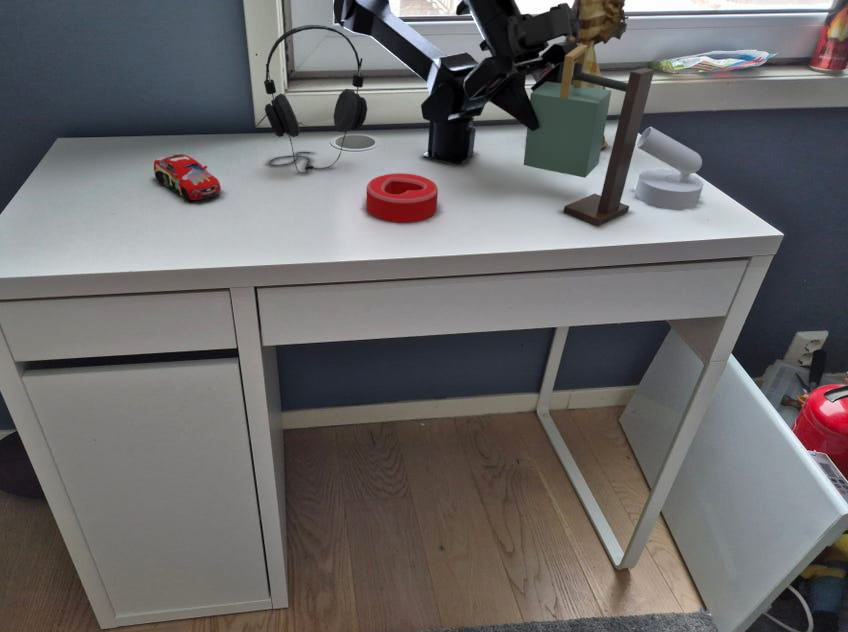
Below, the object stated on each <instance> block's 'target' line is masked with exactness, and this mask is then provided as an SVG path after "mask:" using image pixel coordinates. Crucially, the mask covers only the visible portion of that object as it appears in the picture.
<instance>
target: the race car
mask: <svg viewBox="0 0 848 632" xmlns="http://www.w3.org/2000/svg"><path fill="white" fill-rule="evenodd" d="M207 169H208V165H204V166H203V165H202V164H201V162H199V161H197V160H196V159H195V158H193V157H191V156H189V155H187V154H182V153H179V154H169V155H165V156H161V157H157V158H156V159H155V160H154V162H153V173H154V177H155V178H156V180H157V181H158V183H159V184H160V185H161V186H163V185H165V186H166V187H167V188H169V189H171V190H172V191H174V192H175V193H177V194H178V195H180V196H181V197H183V199H184V200H185V202H190V201H198V200H205V199H210V198H213V197H215V196H217V195H218V194H220V193H221V191H222V189H221V187H222V186H221V183H220V180H218V178H217V177H215V176H214V175H213V174H212V173H210V172H209V171H208V170H207Z"/></svg>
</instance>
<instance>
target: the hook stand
mask: <svg viewBox="0 0 848 632" xmlns="http://www.w3.org/2000/svg"><path fill="white" fill-rule="evenodd" d="M582 66H583V63H581V62H575V65H574V70H573V75H572V80H579V81H583V82H587V83H591V84H595V85H600V86H604V87H605V88H608V89H612V90H616V91H620V92H625V93H624V97H623V102H622V106H621V110H620V114H619V118H618V123H617V127H616V131H615V136H614V139H613V144H612V148H611V152H610V155H609V161H608V165H607V169H606V173H605V177H604V178H605V179H604V180H603V185H602V190H601V193H600V194H597V193H592V194H590V195H587V196H585V197H583V198H580V199H578V200H576V201H573V202H571V203H569V204H566V205H564V207H563V212H562V213H563V214H565V215H568V216H570V217H573V218H575V219H578V220H580V221H583V222H585V223H588V224H590V225H593V226H596V227H597V228H598V227H600V226H603V225H605V224H607V223H609V222H611V221H613V220H616V219H617V218H620V217H622V216H624V215H626V214H628V213H629V210H630V205H627V204H625V203H621V201H622V197H623V193H624V190H625V189H624V188H625V185H626V181H627V178H628V174H629V170H630V167H631V162H632V158H633V154H634V151H635V147H636V144H637V143H636V142H637V140H638V135H639V131H640V128H641V124H642V120H643V116H644V113H645V108H646V105H647V100H648V97H649V93H650V89H651V85H652V81H653V78H654V73H655V69H651V68H647V67H642V68H639V69H635V70H631V71H630V73H629V77H628V80H627V81H626V82H625V81H622V80H617V79H612V78H608V77H605V76H602V77H600V76H596V75H592V74H588V73H583V72H581V71H582Z"/></svg>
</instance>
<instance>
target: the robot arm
mask: <svg viewBox="0 0 848 632" xmlns="http://www.w3.org/2000/svg"><path fill="white" fill-rule="evenodd" d="M571 8H572V7H570V5H569V4H568V2H562V3H558V4H557V5H555V6H551V7H550V8H549V10H548V11H545V12H542V13H540V14H536V15H535V16H533V15H532V14H530V13H524V14H523V13H522V12H521V10H520V8H519V6H518V4H517V2H516V0H458V3H457V5H456V8H455V15H456V16H465V15H471V16H472V18H473V21H474V23H475V24H476V26H477V28H478V31H479V33H480V35H481V37H482V39H483V40H482V41H481V42H480V43H479V45H478V46H479V48H480V50H481V52H486V51H489V53H490V55H491V56H488V57H485V58H483V59H482V60H481V61H480V62H478V61H477V60H476V59H475V58H474V57H473V56H472V55H471V54H469V53H468V52H465V51H464V52H460V53H455V54H450V55H446V54H445V53H444V52H443V51H442V50H440V49H439V48H438V47H436V46H435V45H434V44H432V42H430V41H428V40H427V39H426V38H425V37H423V36H422V35H421V34H420V33H419V32H417V31H416V30H415V29H414V28H412V27H411V26H409V25H408V24H407V23H406V22H405V21H404V20H402V19H400V18H399V17H398V16H397V15H395V13H393V10H392V5H391V0H334V1H333V7H332V10H333V14H334V17H335V20H336V22H337V24H338V25H339V26H340V27H342V28H343V29H345V30H347V31H349V32H351V33H354V34H358V35H363V36H365V37H369V38H372V39H373V40H374V41H376V42H377V43H378V44H379V45H380V46H382V47H383V48H384V49H386V51H388V52H389V53H390V54H392V56H394V57H395V58H396V59H398V61H400V63H402V64H403V65H405V66H406V67H407V68H408V69H409V70H411V71H412V72H413V73H415V74H416V75H417V76H418V77H419V78H421V79H422V80H423V81H424V82H425V83H426V86H427V90H428V97H426V99H425V100H424V101H422V103H421V104H420V109H421V116H422V119H423V120H425V121H428V122H429V124H428V125H429V126H428V140H427V141H428V142H427V151H426V152H425V153H423V155H422V158H423V159H427V160H430V161H431V160H432V161H436V162H442V163H447V164H453V165H458V166H459V165H462V164H463V163H464V162H466V161H467V160H468V159H469V158H470V157H471V156H473V154H474V152H475V151H474V149H475V142H476V141H475V140H476V131H477V129H476V127H474V120H475V117H480V116H482V113H483V111H484V108H485V106H486V104H488V103H491V104H493V105H494V106H496V107H497V108H499V109H501V110H502V111H504V112H505V113H506V114H508V115H509V116H511V117H512V118H514V119H515V120H517V121H518V122H519V123H521V124H522V125H523V126H524V127H526V129H527V128H529V129H530V130H532V131H535V130H537V129H538V128H539V123H538V120H537V117H536V114H535V112H534V109H533V107H532V104H531V102H530V96H529V94H528V92H527V90H526V78H527V76H529V75H531V76H532V78H533V79H534V81H535V83H534V84H533V85H532V86H531V87H530V90H531V92H533V91H534V90H536V89H537V88H538V87H540V86H541V85H542V84H544V83H545V82H546V81H547V82H554V83H561V84H562V76H563V69H564V61H565V55H567V54H568V53H570V52H571V51H572V50H574V49H575V48H576V47H578V46H577V43H576V42H571V41H565V42H564V41H561V42H556V43H553V44H552V45H551V46H550V44H549V42H550V41H553V40H555V39H558V38H560V37H566V36H568V35H571V28H572V27H573V26H574V23H575V20H576V15H575V14H573V11H572V10H571ZM549 46H550V47H549ZM548 47H549V48H548ZM541 52H543V53H542V54H541V55H540V53H541ZM576 60H577V58H576V59H574V62H575V61H576ZM574 62H573V63H574Z"/></svg>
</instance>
